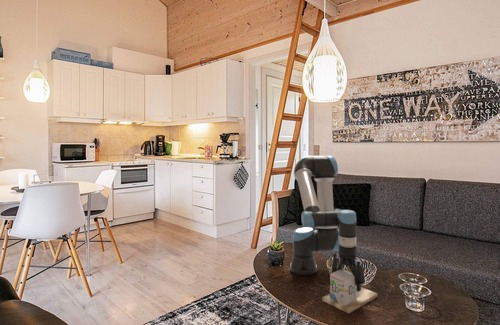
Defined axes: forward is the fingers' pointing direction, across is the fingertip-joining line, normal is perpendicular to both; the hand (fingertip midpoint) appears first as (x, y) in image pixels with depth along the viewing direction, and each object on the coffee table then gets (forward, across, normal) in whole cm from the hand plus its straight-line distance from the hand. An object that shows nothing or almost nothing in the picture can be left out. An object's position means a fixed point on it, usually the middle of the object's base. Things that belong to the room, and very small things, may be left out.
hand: (347, 293), depth 140 cm
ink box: (+2, 0, -3) cm, 4 cm away
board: (+3, 0, +2) cm, 4 cm away
